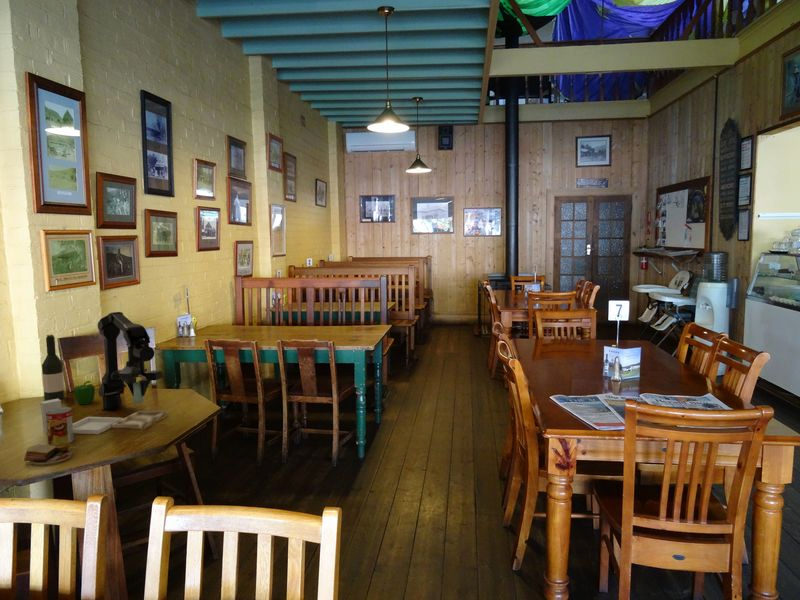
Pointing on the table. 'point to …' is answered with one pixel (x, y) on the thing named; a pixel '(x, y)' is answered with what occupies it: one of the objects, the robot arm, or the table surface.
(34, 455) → the toy sandwich meal
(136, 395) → the pin
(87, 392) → the bell pepper
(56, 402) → the skincare box
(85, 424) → the white rimmed platter
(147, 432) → the table surface
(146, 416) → the tray
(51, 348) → the wine bottle
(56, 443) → the canned food
